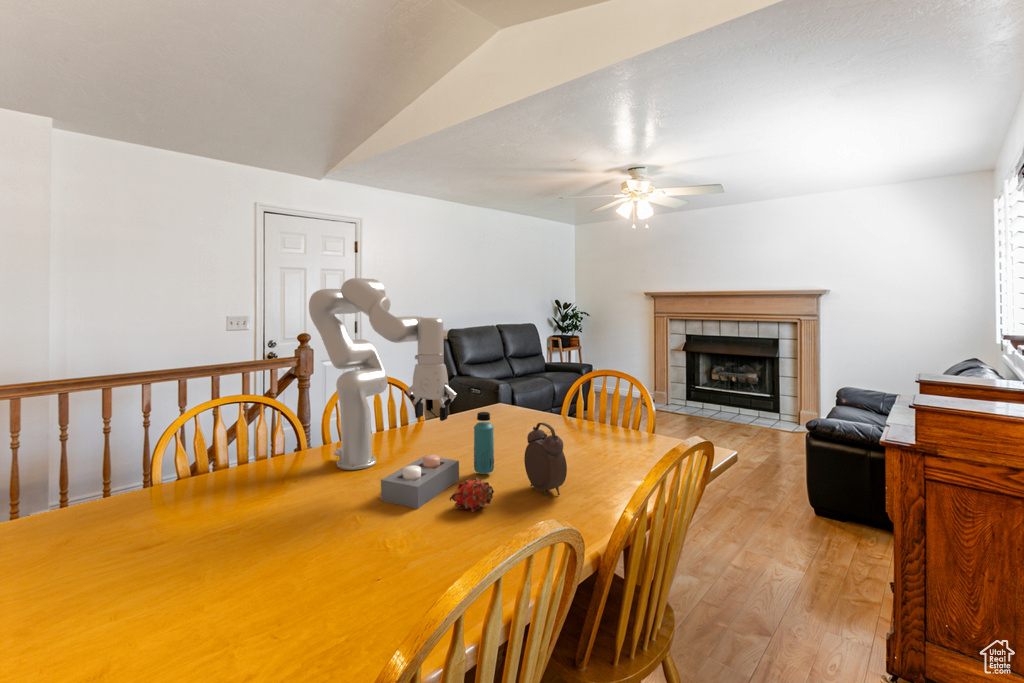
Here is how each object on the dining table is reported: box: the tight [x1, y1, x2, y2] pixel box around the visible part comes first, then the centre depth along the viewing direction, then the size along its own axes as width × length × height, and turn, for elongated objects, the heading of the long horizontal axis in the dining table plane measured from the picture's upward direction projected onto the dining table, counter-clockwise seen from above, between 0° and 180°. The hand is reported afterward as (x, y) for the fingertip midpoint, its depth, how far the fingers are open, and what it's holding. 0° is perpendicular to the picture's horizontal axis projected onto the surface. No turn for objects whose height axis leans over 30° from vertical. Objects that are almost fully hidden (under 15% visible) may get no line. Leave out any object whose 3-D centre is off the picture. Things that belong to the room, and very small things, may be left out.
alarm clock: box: [523, 422, 568, 497], centre depth 136 cm, size 14×7×20 cm, turn 30°
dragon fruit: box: [449, 477, 495, 513], centre depth 125 cm, size 8×8×12 cm
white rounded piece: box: [402, 465, 421, 481], centre depth 132 cm, size 5×5×4 cm
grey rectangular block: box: [380, 455, 460, 510], centre depth 137 cm, size 12×22×6 cm, turn 157°
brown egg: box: [422, 454, 441, 469], centre depth 141 cm, size 5×5×4 cm
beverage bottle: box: [473, 411, 495, 474], centre depth 148 cm, size 6×7×20 cm
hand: (431, 418), depth 140 cm, fingers open, 7 cm apart
